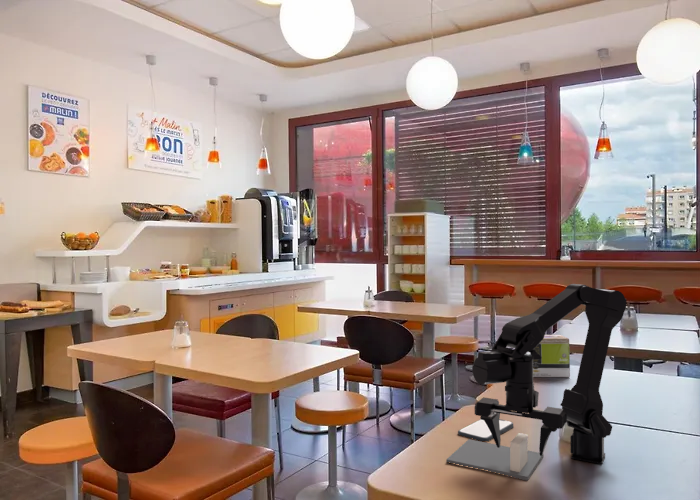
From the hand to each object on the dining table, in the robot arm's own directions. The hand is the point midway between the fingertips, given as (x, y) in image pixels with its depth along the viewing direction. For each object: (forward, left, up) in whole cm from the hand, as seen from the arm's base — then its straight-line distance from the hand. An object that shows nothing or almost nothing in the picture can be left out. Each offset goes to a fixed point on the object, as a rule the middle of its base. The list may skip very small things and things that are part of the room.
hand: (519, 451), depth 120 cm
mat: (+6, -2, -4) cm, 8 cm away
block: (0, 0, -3) cm, 3 cm away
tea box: (+14, -94, -4) cm, 95 cm away
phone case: (+14, -21, -5) cm, 26 cm away
